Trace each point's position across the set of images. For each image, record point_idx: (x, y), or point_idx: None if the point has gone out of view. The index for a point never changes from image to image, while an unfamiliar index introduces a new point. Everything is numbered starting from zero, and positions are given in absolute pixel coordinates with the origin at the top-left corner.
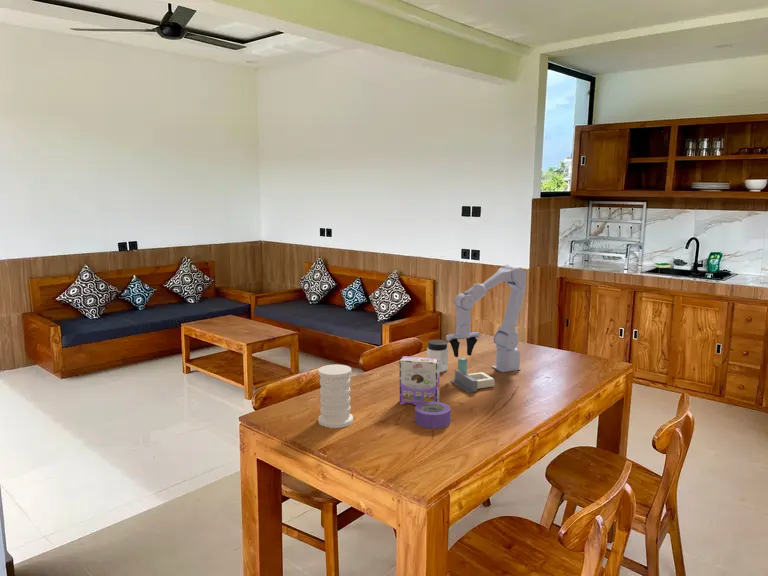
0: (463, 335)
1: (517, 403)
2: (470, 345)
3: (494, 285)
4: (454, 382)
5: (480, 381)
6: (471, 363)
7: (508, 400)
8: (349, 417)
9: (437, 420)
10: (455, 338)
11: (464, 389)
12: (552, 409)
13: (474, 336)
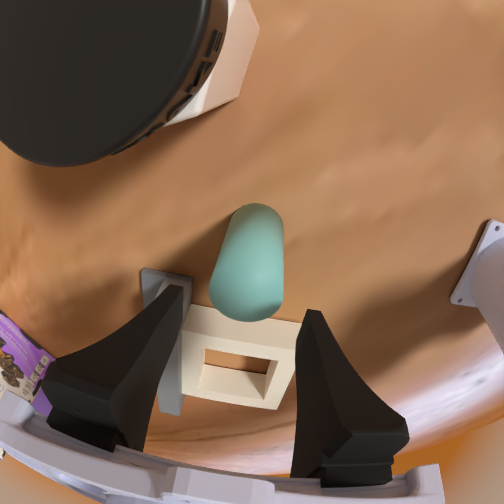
0: None
1: (239, 446)
2: (300, 422)
3: None
4: (145, 301)
5: (211, 397)
6: (469, 90)
7: (233, 435)
8: None
9: None
10: (101, 457)
11: None
12: (280, 470)
13: (368, 493)
